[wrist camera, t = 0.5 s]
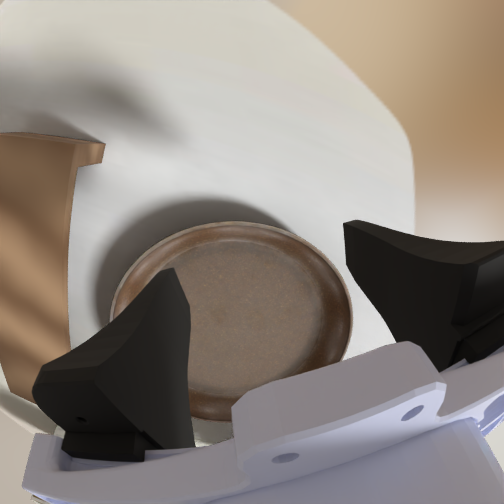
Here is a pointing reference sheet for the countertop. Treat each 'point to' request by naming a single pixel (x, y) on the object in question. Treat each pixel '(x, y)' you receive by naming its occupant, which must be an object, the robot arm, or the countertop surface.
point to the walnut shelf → (36, 249)
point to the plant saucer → (247, 308)
